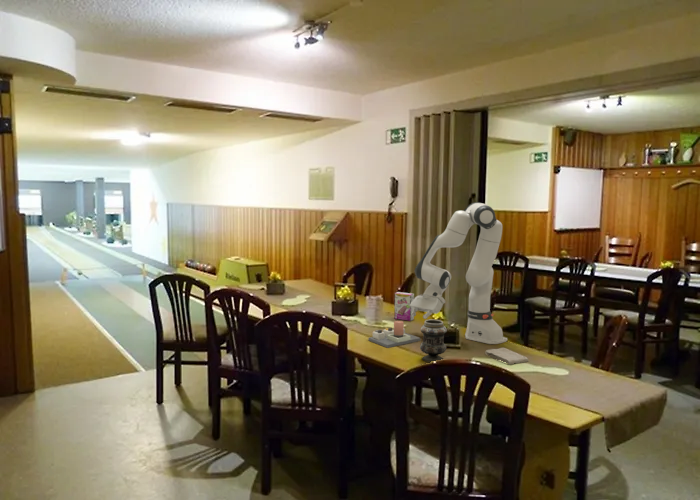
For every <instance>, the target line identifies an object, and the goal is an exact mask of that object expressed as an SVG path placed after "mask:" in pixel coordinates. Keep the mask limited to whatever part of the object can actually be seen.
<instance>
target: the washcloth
mask: <svg viewBox="0 0 700 500" xmlns="http://www.w3.org/2000/svg"><path fill="white" fill-rule="evenodd" d="M484 354H485V355H486V356H487V355H488V356H487V357H489V356H490V357H489V358H491V357H492V359H494V360H496V359H497V360H496V361H498V360H501V361H503V362H506V363H508V364H511V365H515V364H514V363H516V364H522V363H523V364H524V363H528V362H529V359H528V357H526V356H525V355H522V354H521V353H519V352H518V353H517V352H516V351H514V350H511V349H508V348H506V347H500V348H489V349H486V350H485V352H484ZM503 362H502V363H503Z"/></svg>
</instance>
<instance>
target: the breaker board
mask: <svg viewBox="0 0 700 500" xmlns="http://www.w3.org/2000/svg"><path fill="white" fill-rule="evenodd" d="M367 338H368V339H367V340H368V341H369V342H371V343H374V344H377V345H378V346H382V347H384V348H387V349H388V348H389V349H390V348H394V347H397V346H402V345H403V346H404V345H407V344H411V343H416V342H417V343H418V342H420V341H421V337H419V336H416V335H413V334H410V333H407V332H406V328H404V337H401V338H396V337H394V327H393V328H392V327H386V328H385V329H383V330H382V329H376V330H374V331H372V336H369V337H367Z"/></svg>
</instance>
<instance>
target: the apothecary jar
mask: <svg viewBox="0 0 700 500" xmlns="http://www.w3.org/2000/svg"><path fill="white" fill-rule="evenodd" d="M447 331H448V329H447V328H446V326H445V325H444V321H442V320H440V319H432V318H431V319H424V324H423V325H421V327H420V332H421V334H422V336H423V337H422V342H421V343H420V345H419V349H420V351H421V352H422V353H424V354H426V355H424V356H422V357H421V360H422V361H424V362H427V363H431V361H436V360H441V359H444V357H443V356H441V355H442V354H444V353H445V352H446V351H447V345H446V344H445V343H444V342H445V341H444V340H445V335H446V333H447Z"/></svg>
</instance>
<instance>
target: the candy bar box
mask: <svg viewBox="0 0 700 500" xmlns="http://www.w3.org/2000/svg"><path fill="white" fill-rule="evenodd" d="M414 299H415V293H409V292H403V291H402V292H401V291H396V292H394V320H398V321H405V322H412V321H413V320H414V319H415V318H414V317H415V316H412V315H411V314H412V312H413V308H412V307H411V306H410V304H411V302H412V301H413V300H414Z"/></svg>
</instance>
